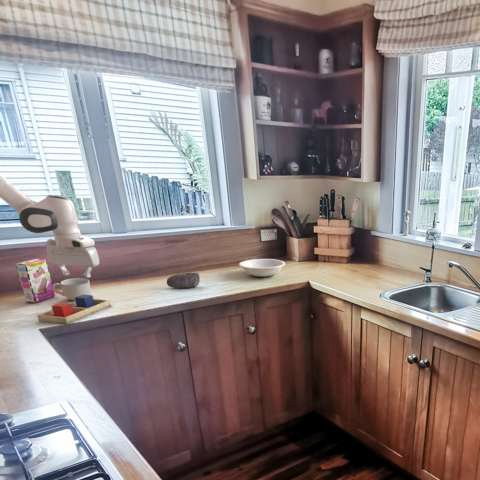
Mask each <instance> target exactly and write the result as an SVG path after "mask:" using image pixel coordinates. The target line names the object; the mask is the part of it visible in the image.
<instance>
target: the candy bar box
mask: <svg viewBox="0 0 480 480" xmlns="http://www.w3.org/2000/svg"><path fill="white" fill-rule="evenodd" d="M15 268H16V271H17V274H18V278H19V281H20V286H21V288H22V292H23V296H24V299H25V303H29V304H30V303H31V304H37V303H40V302H43V301H45V300H48V299H51V298H55V297H56V292H55V291H54V290H53V289H52V285H53V282H52V281H53V280H52V278H51V274H50V269H49V266H48V262H47V259H43V258H35V259H29V260H26V261H22V262H17V263H15Z"/></svg>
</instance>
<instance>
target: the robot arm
mask: <svg viewBox="0 0 480 480" xmlns="http://www.w3.org/2000/svg"><path fill="white" fill-rule="evenodd" d="M0 199H1V200H3V201H4V202H5V203H6V204H8V205H9V206H10V207H11V208H13V209H14V210H15V212H16V213H17V215H18V220H19V224H20V225H21V226H22V227H23V229H24V230H26V231H28V232H30V233H34V234H43V233H47V232H51V231H52V233H53V237H54V239H52V238H49V239H48V240H46V242H45V245H46V256H47V261H48V262H49V263H50V264H51V265H57V266H58V268H59V270H60V271H61V272H62V276H66V277H68V276H70V275H71V273H70V270H67V268H66V266H77V267H83V268H84V270H85V272H83V277H84V278H85V279H88V278H91V272H92V269H93V268H94V267H98V266H99V265H100V257H99V253H98V250H97V248H96V247H95V245H96V243H95V240H94V239H92V238H89V237H87V236H85V235H83V234H82V232H81V230H80V228H79V224H78V223H79V219H78V215H77V211H76V208H75V204H74V202H73V201H72V200H71V199H69V198H68V197H66V196H62V195H53V194H50V195H47V196H46V197H45V198H43V199H42V200H39V201H38V202H37V201H34V200H32V199H30V198H29V197H28V196H26V195H25V194H24V193H23V192H22V191H20V190H19V189H18V188H17V187H15V186H14V185H13V184H12V183H11V182H10V181H9V180H8V179H7V178H6V177H5V176H4V175H3V174H2V172H0Z"/></svg>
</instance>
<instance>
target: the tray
mask: <svg viewBox="0 0 480 480" xmlns="http://www.w3.org/2000/svg"><path fill="white" fill-rule="evenodd" d="M93 300H94V304H95V306H92V307H90V308H80V307H77V305H76V301H73V302H70V303H71V307H72V310H73V314H72V315H70V316H67V317H56V316H54V313H53V310H52V309H50V310H48V311H45V312H42V313H39V314H37V320H38V322H41V323H51V324H62V325H68V324H71V323H73V322H76V321H78V320H80V319H83V318H85V317H88V316H90V315H93V314H95V313H98V312H100V311H103V310H105V309H107V308H110V307H111V306H112V304H111V300H110V299H99V298H93Z"/></svg>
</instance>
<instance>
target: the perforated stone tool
mask: <svg viewBox="0 0 480 480" xmlns="http://www.w3.org/2000/svg"><path fill="white" fill-rule="evenodd" d="M200 281H201V280H200V274H199V273H198V272H185V273H178V274H173V275H171V276H170V277H168V278H167V279H166V285H167V286H168V287H169V288H172V289H189V288H196V287H197V286H198V285H199V283H200Z"/></svg>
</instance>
